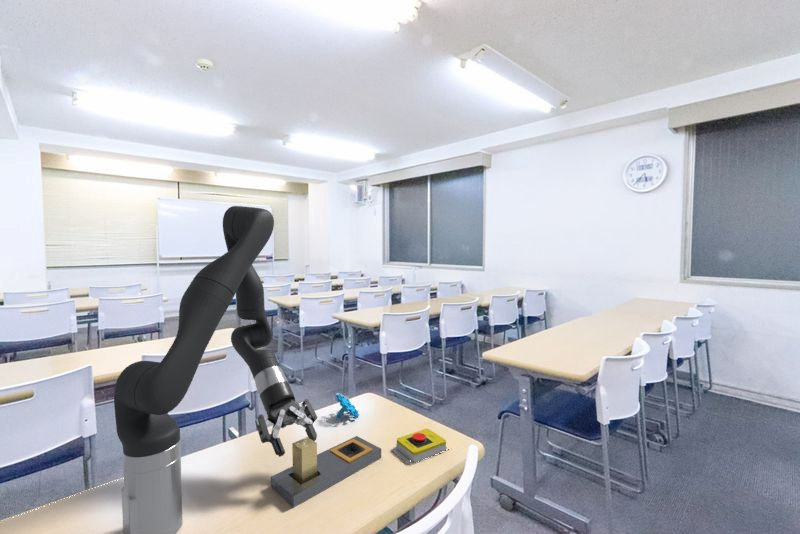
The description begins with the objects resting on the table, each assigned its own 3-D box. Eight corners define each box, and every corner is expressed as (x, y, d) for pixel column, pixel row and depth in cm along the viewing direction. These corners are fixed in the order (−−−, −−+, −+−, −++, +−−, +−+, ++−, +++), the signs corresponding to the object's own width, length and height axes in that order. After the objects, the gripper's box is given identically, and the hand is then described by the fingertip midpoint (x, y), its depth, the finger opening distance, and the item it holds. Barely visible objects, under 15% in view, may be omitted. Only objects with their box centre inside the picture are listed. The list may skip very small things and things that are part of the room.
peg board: (293, 507, 79) (293, 494, 79) (270, 487, 86) (270, 475, 86) (381, 457, 98) (381, 447, 98) (356, 444, 105) (356, 434, 105)
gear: (360, 418, 117) (337, 396, 118) (346, 432, 117) (324, 410, 117) (361, 408, 128) (340, 388, 129) (349, 421, 128) (328, 401, 128)
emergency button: (390, 435, 102) (433, 421, 110) (390, 451, 102) (433, 436, 111) (409, 450, 94) (454, 434, 103) (409, 467, 95) (454, 450, 103)
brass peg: (302, 492, 84) (301, 449, 84) (292, 485, 87) (292, 443, 86) (317, 484, 87) (316, 442, 86) (307, 477, 90) (307, 436, 89)
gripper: (251, 388, 89) (276, 453, 81) (303, 373, 99) (329, 429, 92) (242, 404, 92) (265, 467, 85) (293, 388, 103) (317, 443, 96)
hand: (298, 447), depth 88 cm, fingers open, 8 cm apart
